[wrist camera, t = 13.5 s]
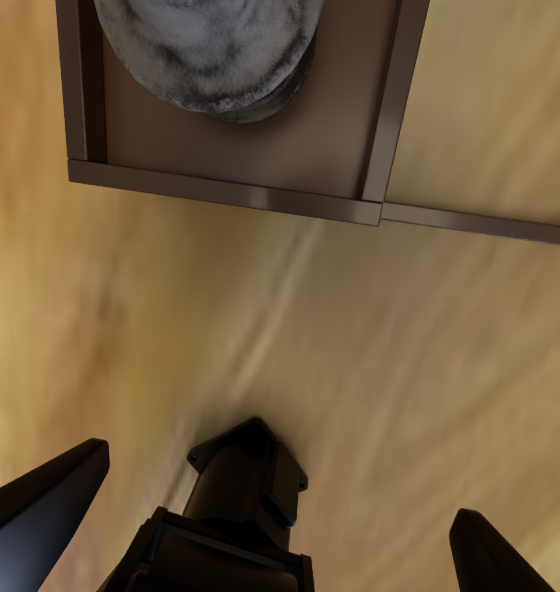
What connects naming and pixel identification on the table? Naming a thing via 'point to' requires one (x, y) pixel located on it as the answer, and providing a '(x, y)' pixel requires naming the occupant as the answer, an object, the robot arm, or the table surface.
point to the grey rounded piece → (216, 51)
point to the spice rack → (265, 127)
